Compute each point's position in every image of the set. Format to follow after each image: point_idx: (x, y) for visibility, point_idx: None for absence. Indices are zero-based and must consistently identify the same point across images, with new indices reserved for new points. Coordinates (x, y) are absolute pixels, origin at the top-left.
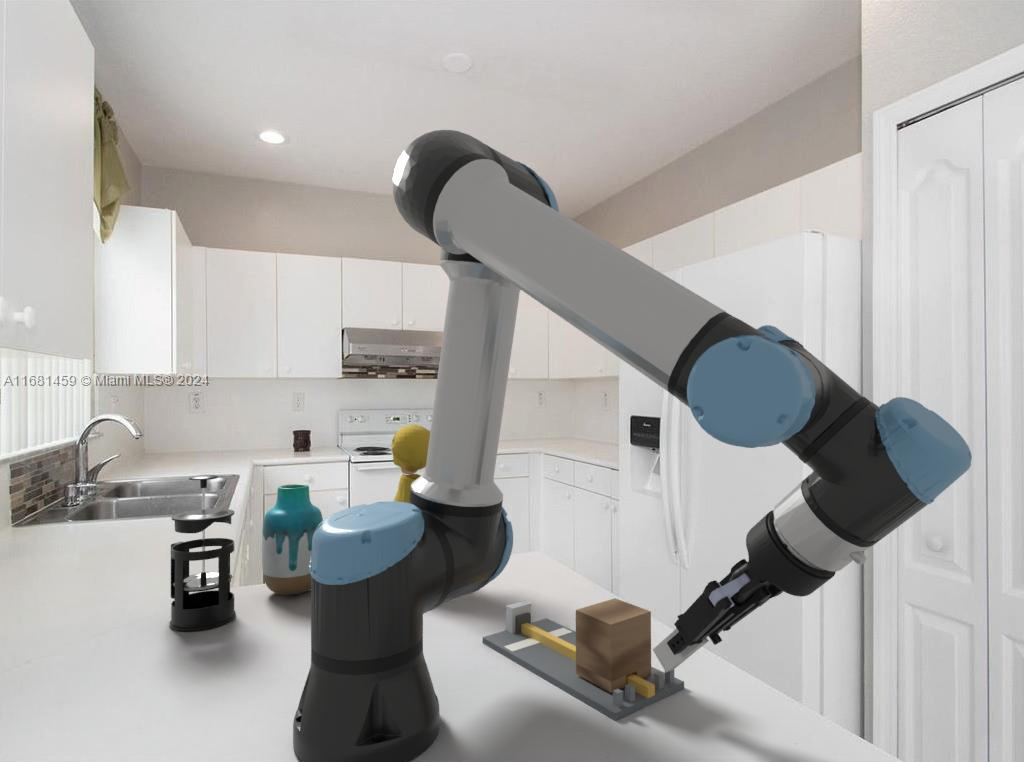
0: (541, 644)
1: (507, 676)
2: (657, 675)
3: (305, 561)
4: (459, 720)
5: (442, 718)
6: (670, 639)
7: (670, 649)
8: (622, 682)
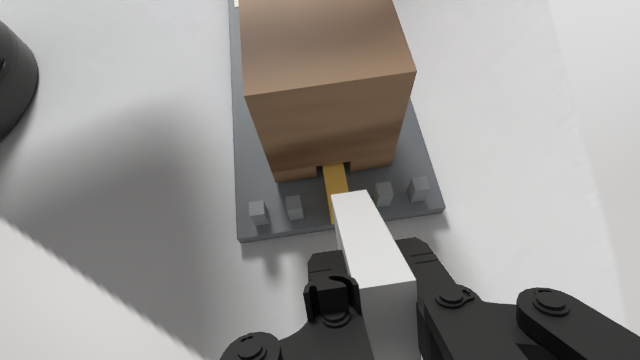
0: None
1: (191, 57)
2: (377, 193)
3: None
4: (45, 129)
5: (32, 115)
6: (308, 270)
7: (340, 249)
8: (305, 173)
